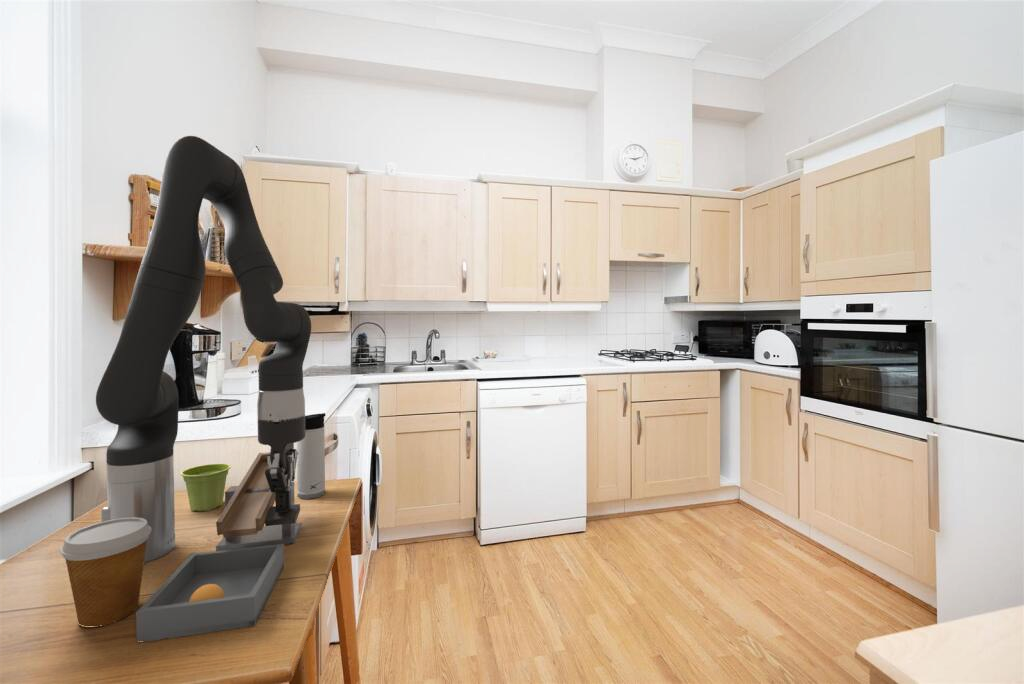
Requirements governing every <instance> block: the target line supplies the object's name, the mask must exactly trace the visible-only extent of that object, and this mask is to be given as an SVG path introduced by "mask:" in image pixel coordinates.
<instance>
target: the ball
mask: <svg viewBox="0 0 1024 684" xmlns="http://www.w3.org/2000/svg"><path fill="white" fill-rule="evenodd" d="M217 598H224V593H223V590H222V589H221V587H220V586H218V585H216V584H206V585H203V586H201V587H200V588H198V589H197V590H196V591H195V592H194V593H193V594H192V596H191V598H190V600H189V602H194V601H201V600H209V599H217Z"/></svg>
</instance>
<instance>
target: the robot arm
mask: <svg viewBox="0 0 1024 684" xmlns="http://www.w3.org/2000/svg"><path fill="white" fill-rule="evenodd" d="M160 181H161V182H160V189H159V195H158V200H157V206H156V211H155V215H154V219H153V223H152V227H151V230H150V235H149V237H148V238H149V239H148V242H147V246H146V248H145V252H144V254H143V257H142V259H141V263H140V266H139V269H138V271H137V272H138V273H137V275H136V279H135V282H134V285H133V290H132V294H131V298H130V302H129V304H128V307H127V310H126V315H125V318H124V321H123V324H122V325H123V326H122V329H121V332H120V335H119V339H118V341H117V344H116V346H115V349H114V351H113V353H112V356H111V358H110V360H109V362H108V365H107V367H106V369H105V371H104V373H103V375H102V378H101V380H100V382H99V385H98V387H97V390H96V395H95V405H96V408H97V411H98V413H99V414H100V416H101V417H102V418H103V419H104V420H105V421H107V422H109V423H111V424H114V425H117V426H118V428H117V431H116V434H115V437H114V438H113V440H112V441H111V443H110V444H109V445H108V447H107V449H106V489H107V490H106V491H107V493H106V494H107V495H106V496H107V503H106V504H107V505H106V506H104V507H103V508H102V509H101V511H100V520H101V521H100V522H104V521H108V520H113V519H120V518H132V517H136V518H143V519H146V521H147V523H148V526H149V527H151V533H150V534H149V537H148V539H147V544H146V552H145V559H144V563H147V562H150V561H153V560H156V559H159V558H160V557H163V556H165V555H167V554H169V553H170V552H171V551H172V550H173V549H174V548H175V545H176V529H175V528H176V526H175V523H176V522H175V519H176V518H175V469H174V468H175V466H174V461H175V460H174V445H175V442H176V441H177V437H178V430H179V390H178V386H177V384H176V381H175V380H174V378H173V377H172V376H171V375H170V374H168V373H167V372H166V371H164V368H165V363H166V361H167V358H168V355H169V354H168V353H169V352H170V349H171V347H172V345H173V343H174V341H175V340H176V338H177V337H178V335H179V333H181V331H182V329H183V328H184V327H185V325H186V323H188V320H189V319H190V318H191V316H192V314H193V313H194V311H195V308H196V306H197V304H198V301H199V298H200V295H201V292H202V288H203V285H204V282H205V279H206V278H205V277H206V270H207V269H206V268H207V267H206V260H205V254H204V250H203V245H202V241H201V236H200V230H199V216H200V211H201V206H202V204H203V200H207V201H208V202H209V203H210V204H211V205H212V206H213V208H214V209H215V211H216V212H217V214H218V215H219V217H220V219H221V221H222V223H223V227H224V231H225V232H224V255H225V257H226V261H227V263H228V266H229V268H230V270H231V273H232V275H233V277H234V279H235V281H236V283H237V285H238V287H239V289H240V297H241V304H242V305H241V306H242V313H243V320H244V324H245V326H246V328H247V329H248V331H249V333H250V334H251V335H252V336H253V337H254V338H255V339H256V340H258V341H261V342H265V343H276V344H275V348H274V350H273V353H271V354H269V355H267V356H265V357H263V358H261V359H260V360H259V362H258V372H257V373H258V396H257V403H256V404H257V405H256V408H257V409H256V411H257V412H256V414H257V441H258V443H259V444H261V445H262V446H263V445H264V446H269V447H270V451H269V452H270V454H268V457H267V460H268V465H269V468H267V469H266V471H265V475H266V478H267V481H268V485H269V488H270V491H271V492H275V503H274V504H275V506H276V512H277V513H283V512H288V511H289V509H290V508H291V489H290V488H292V486H293V483H292V482H295V478H296V476H295V475H296V470H297V455H298V452H297V448H295V447H294V446H295V443H297V442H299V441H301V440H303V439H304V438H305V416H306V399H305V395H304V394H305V393H304V370H303V366H304V361H305V358H306V355H307V351H308V347H309V342H310V339H311V333H312V322H311V316H310V315H309V312H308V311H307V309H306V308H305V307H303V306H302V305H301V304H298V303H295V302H294V303H293V302H284V301H282V302H281V301H277V299H276V298H275V296H274V295H275V294H278V293H279V292H280V291H281V290H282V289H283V287H284V281H283V279H284V278H283V277H282V275H281V271H280V270H279V267H278V266H277V264H276V262H275V260H274V258H273V256H272V252H270V249H269V247H268V245H267V242H266V241H265V238H264V236H263V233H262V231H261V229H260V226H259V223H258V222H259V221H258V220H257V216H256V213H255V210H254V205H253V203H252V199H251V195H250V193H249V192H250V191H249V188H248V185H247V182H246V178H245V175H244V172H243V170H242V168H241V167H240V165H239V164H238V163H237V162H236V161H235V160H234V159H233V158H231V157H230V156H229V155H227V154H225V153H224V152H223V151H221V150H220V149H218V148H217V147H216V146H214V145H213V144H211V143H209V142H208V141H207V140H205V139H203V138H201V137H199V136H196V135H186V136H183V137H181V138H179V139H178V140H176V141H175V142H174V143H173V145H172V146H171V147H170V149H169V151H168V153H167V155H166V159H165V162H164V166H163V170H162V175H161V180H160Z"/></svg>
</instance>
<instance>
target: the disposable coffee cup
mask: <svg viewBox="0 0 1024 684" xmlns="http://www.w3.org/2000/svg"><path fill="white" fill-rule="evenodd" d="M150 533H151V527H149V526H148V523H147V521H146V519H143V518H136V517H132V518H120V519H113V520H108V521H104V522H101V521H100V522H96V523H94V524H90V525H87V526H85V527H81V528H79V529H77V530H75V531H73V532H71V533H70V534H68V535H67V536H66V537H65V538H64V542H63V545H62V546H61V547H60V549H59V552H60V554H61V556H62V557H63V559H64V560H65V564H66V568H67V573H68V579H69V582H70V583H69V584H70V588H71V592H72V597H73V603H74V607H75V613H76V618H77V622H78V623H79V624H81V625H84V626H100V625H104V626H106V625H105V624H108V625H110V624H109V623H111V624H113V623H112V622H114V621H116V622H118V621H117V620H119V619H121V620H123V619H125V618H126V616H127V615H128V616H130V615H131V614H133V613H134V612H135V611H136V610H137V609H138V607H139V603H140V595H141V594H140V593H141V589H142V588H141V587H142V581H143V580H142V579H143V571H144V566H145V562H144V559H145V552H146V544H147V539H148V537H149V534H150ZM135 609H136V610H135ZM134 610H135V611H134ZM133 611H134V612H133ZM132 612H133V613H132ZM129 614H130V615H129ZM128 616H127V617H128ZM124 617H125V618H124ZM122 618H123V619H122ZM119 621H120V620H119ZM114 623H115V622H114ZM79 624H78V625H79Z"/></svg>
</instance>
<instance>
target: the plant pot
mask: <svg viewBox="0 0 1024 684" xmlns="http://www.w3.org/2000/svg"><path fill="white" fill-rule="evenodd" d="M231 467H232V466H231V464H228V463H210V464H201V465H196V466H193V467H188V468H186V469H184V470H182V471H181V472H180V476H182V480H183V481H184V482H185V483H184V484H185V487H186V491H187V496H188V504H189V509H190V510H191V511H193V512H194V511H198V512H205V511H209V510H210V511H211V510H214V509H216V508H217V507H218V506H219V505H220V506H222V505H223V504H224V498H225V491H226V490H225V489H226V483H227V482H226V481H227V476H228V475H229V470H230V469H231Z"/></svg>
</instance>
